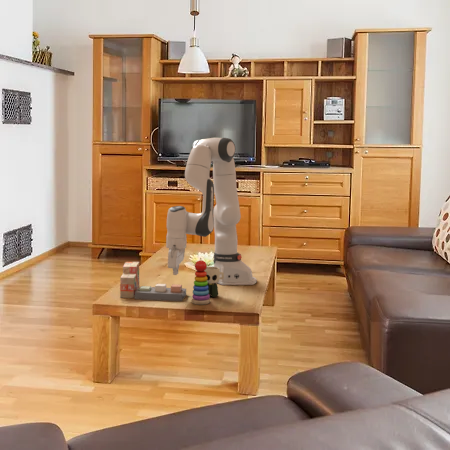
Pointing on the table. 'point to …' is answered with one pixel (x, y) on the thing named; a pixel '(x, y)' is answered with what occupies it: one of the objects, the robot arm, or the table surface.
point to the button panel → (160, 295)
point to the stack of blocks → (129, 280)
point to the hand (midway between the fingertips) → (175, 274)
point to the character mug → (213, 279)
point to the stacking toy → (200, 285)
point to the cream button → (160, 288)
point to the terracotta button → (176, 288)
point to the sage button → (145, 288)
